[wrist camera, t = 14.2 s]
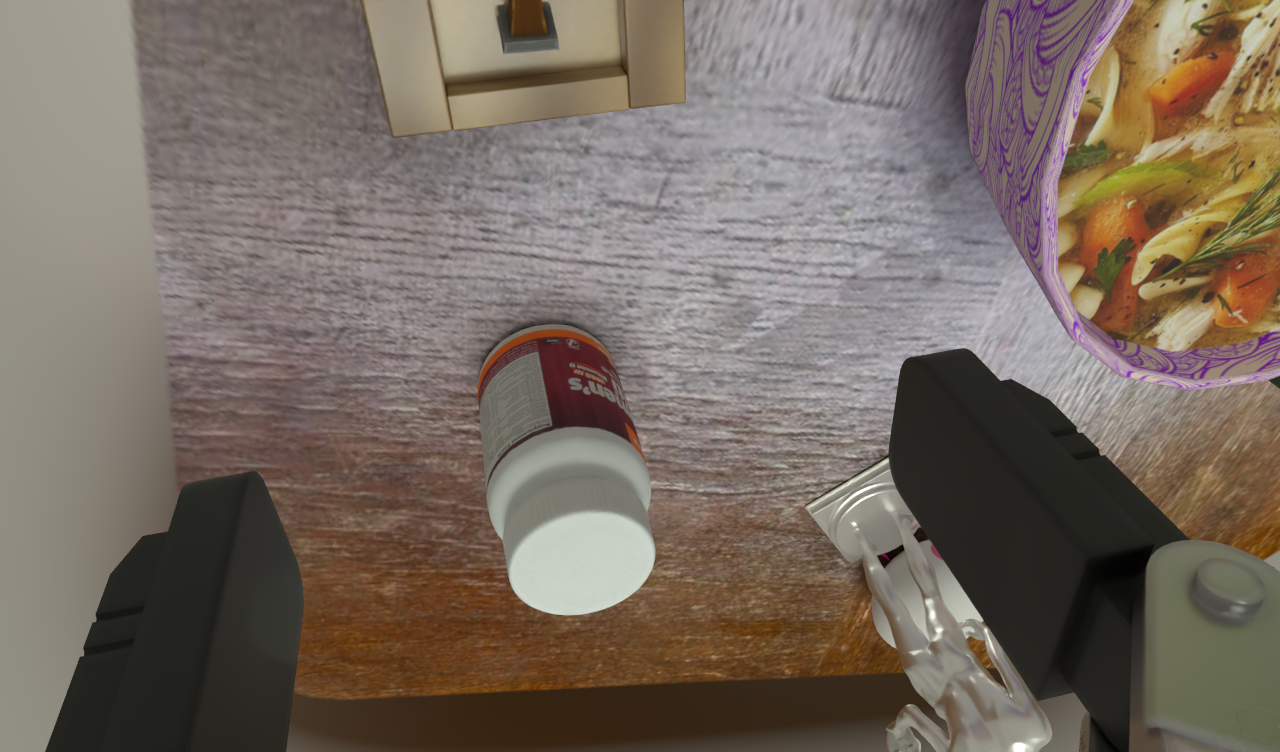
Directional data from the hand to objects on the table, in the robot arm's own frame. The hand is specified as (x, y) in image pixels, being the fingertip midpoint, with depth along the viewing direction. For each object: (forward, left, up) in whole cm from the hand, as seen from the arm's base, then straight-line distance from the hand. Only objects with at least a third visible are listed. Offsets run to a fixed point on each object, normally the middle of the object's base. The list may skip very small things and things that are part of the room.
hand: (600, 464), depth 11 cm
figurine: (+16, -28, -24) cm, 40 cm away
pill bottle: (0, -15, -24) cm, 28 cm away
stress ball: (+20, -32, -23) cm, 45 cm away
